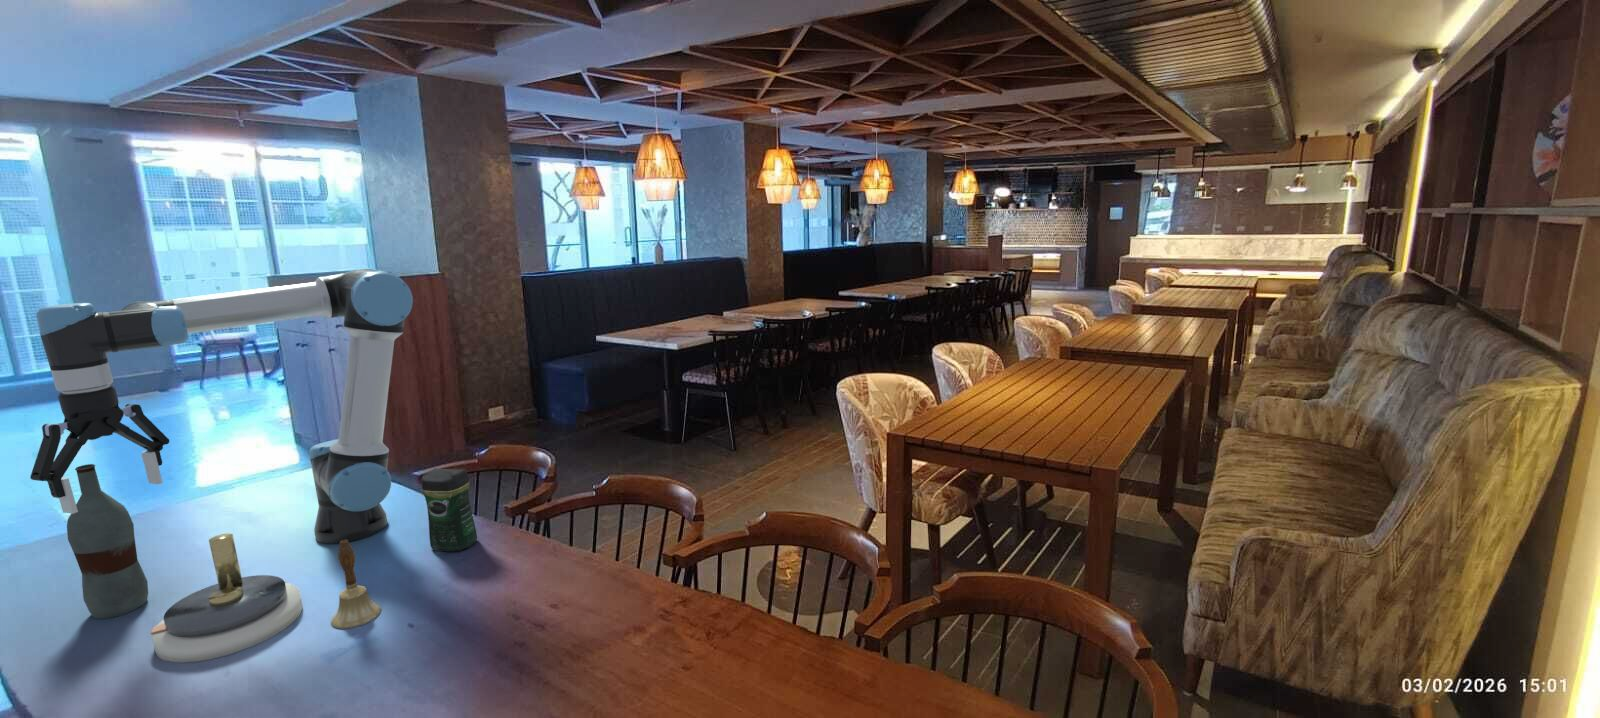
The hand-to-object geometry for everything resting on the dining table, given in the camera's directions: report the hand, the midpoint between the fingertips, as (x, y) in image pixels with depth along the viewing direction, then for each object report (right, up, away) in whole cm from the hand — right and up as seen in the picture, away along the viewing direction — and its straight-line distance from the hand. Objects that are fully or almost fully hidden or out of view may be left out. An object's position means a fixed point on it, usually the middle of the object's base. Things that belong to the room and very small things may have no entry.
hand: (115, 497), depth 134 cm
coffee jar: (+49, -17, +31) cm, 61 cm away
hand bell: (+44, -24, +3) cm, 50 cm away
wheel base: (+22, -25, +1) cm, 33 cm away
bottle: (-7, -24, +8) cm, 26 cm away
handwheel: (+22, -21, 0) cm, 30 cm away
